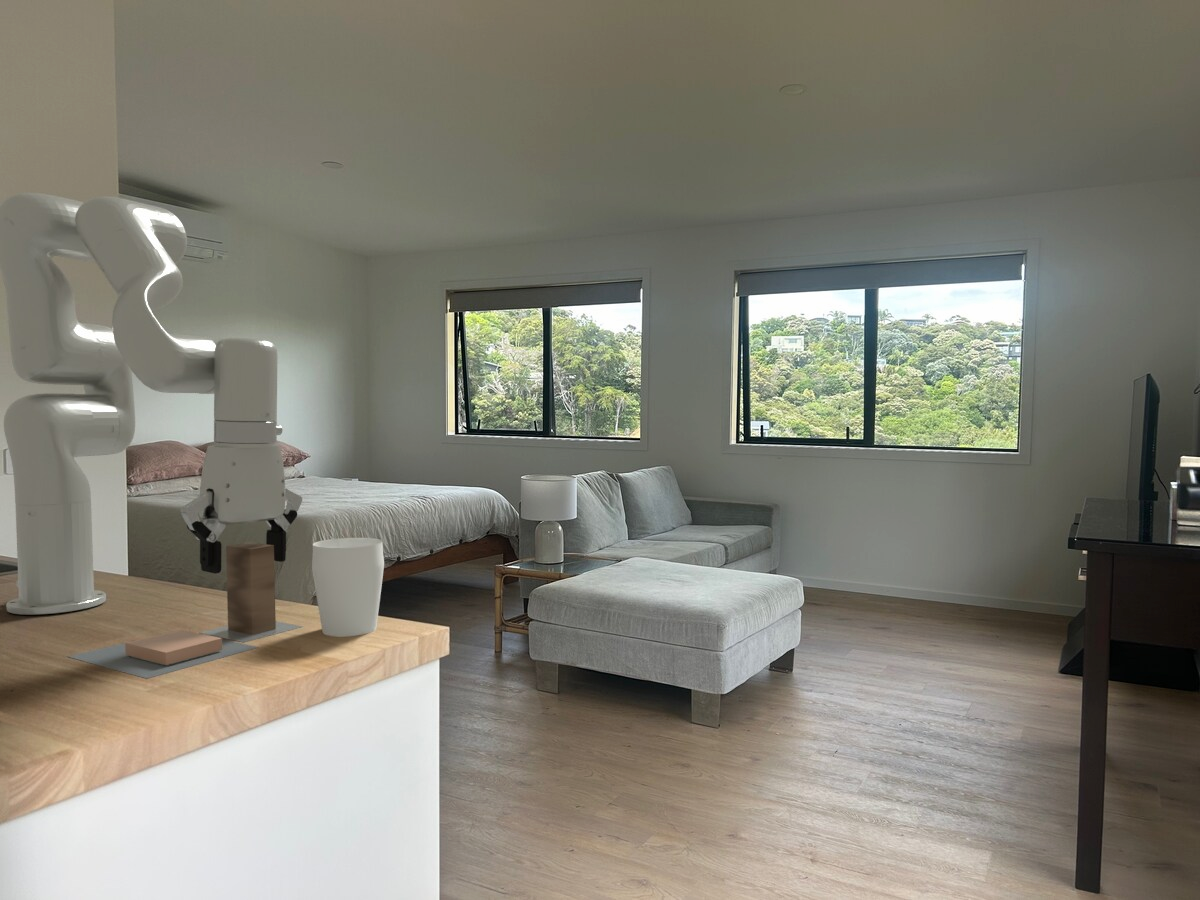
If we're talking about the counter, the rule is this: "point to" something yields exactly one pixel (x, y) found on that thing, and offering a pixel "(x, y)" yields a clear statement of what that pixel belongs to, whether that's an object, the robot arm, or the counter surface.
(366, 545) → the cup
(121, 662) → the mat
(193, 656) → the tile
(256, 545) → the bar
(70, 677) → the counter surface
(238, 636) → the coaster
